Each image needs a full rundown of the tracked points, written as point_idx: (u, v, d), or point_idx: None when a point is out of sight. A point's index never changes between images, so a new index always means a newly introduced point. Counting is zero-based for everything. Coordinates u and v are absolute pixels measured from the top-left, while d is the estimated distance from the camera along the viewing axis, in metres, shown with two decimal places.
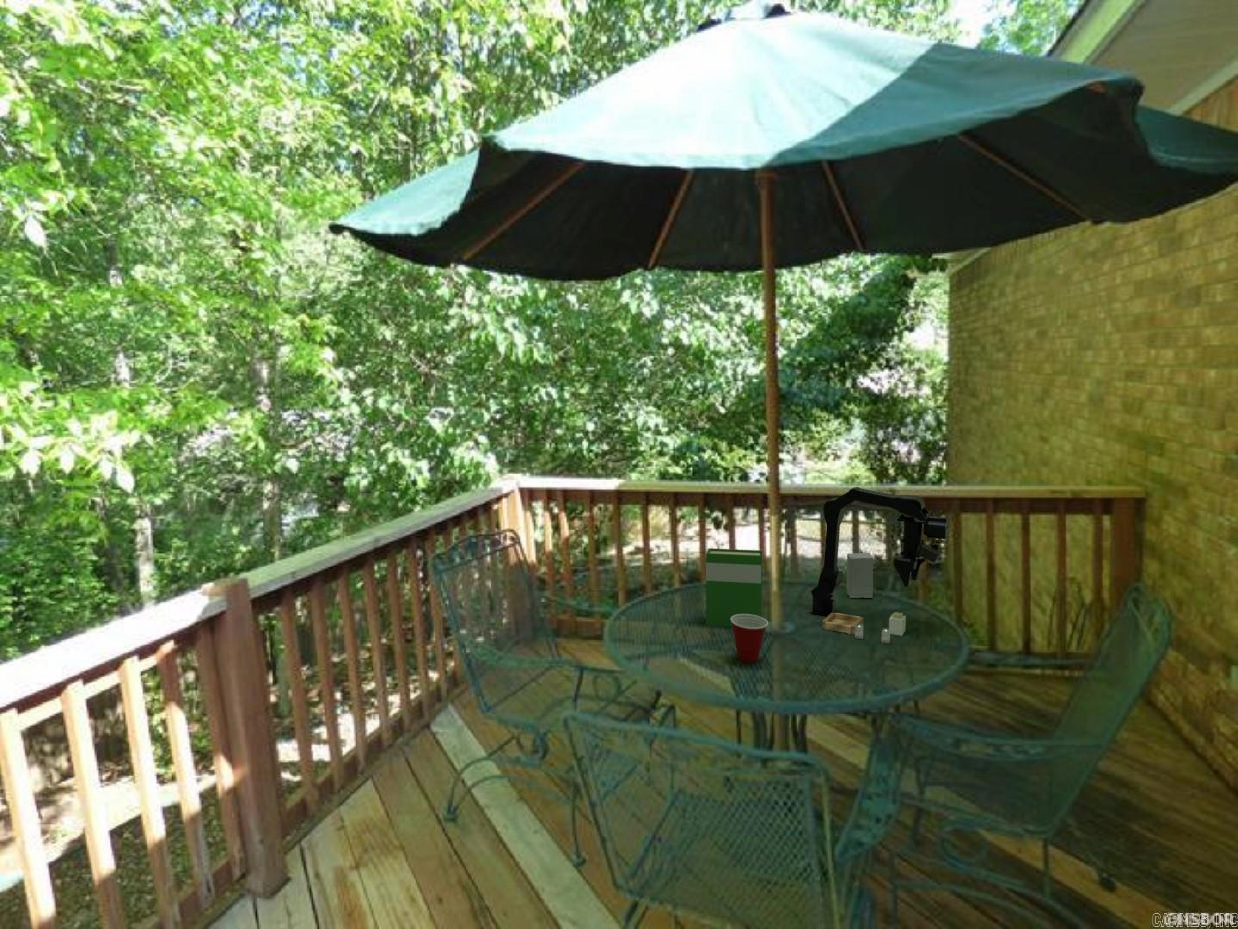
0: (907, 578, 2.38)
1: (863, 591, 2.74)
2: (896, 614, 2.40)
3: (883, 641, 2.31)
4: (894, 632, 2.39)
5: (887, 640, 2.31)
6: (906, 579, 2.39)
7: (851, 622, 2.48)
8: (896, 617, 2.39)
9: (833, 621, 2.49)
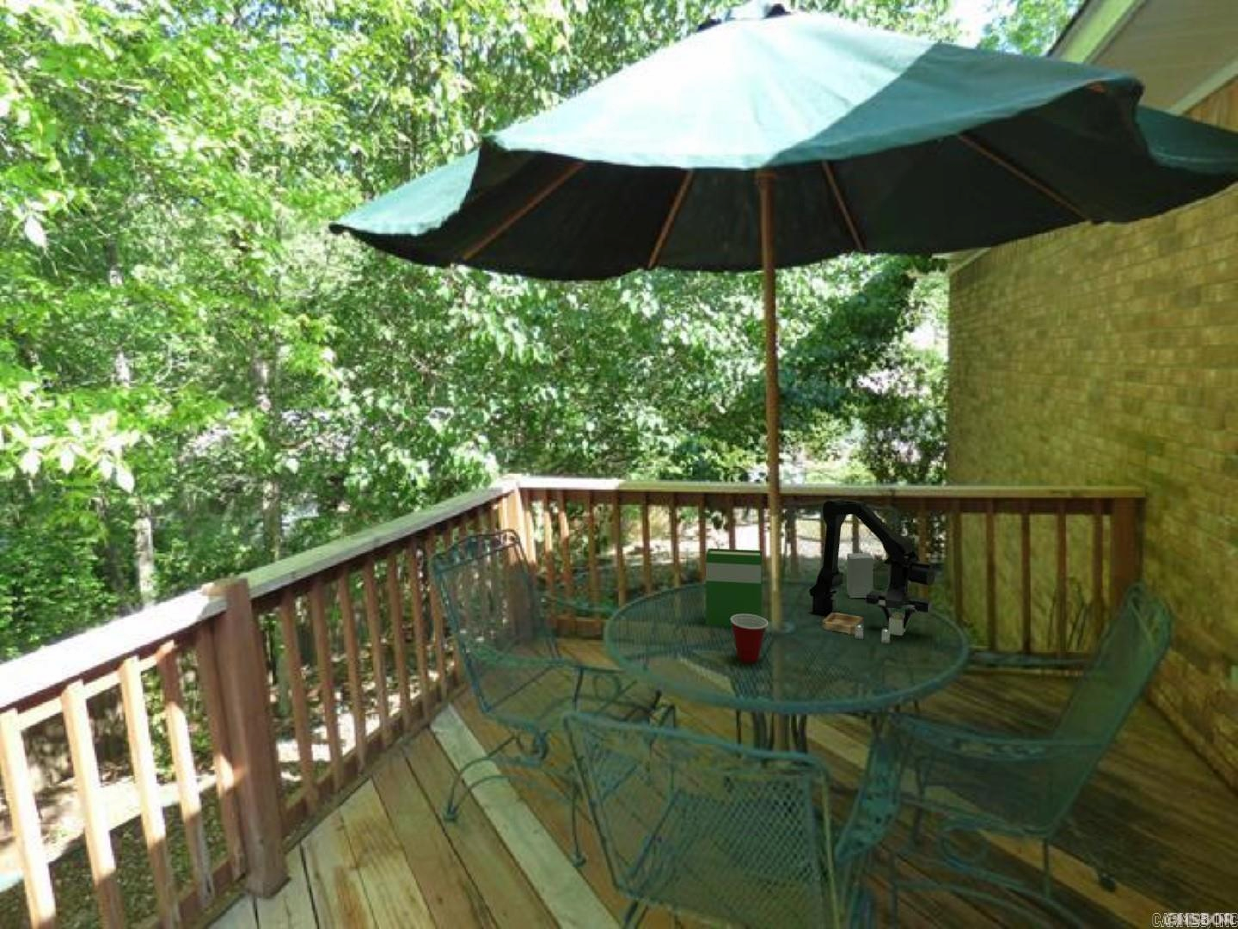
0: None
1: (863, 591, 2.74)
2: (896, 614, 2.40)
3: (883, 641, 2.31)
4: (894, 632, 2.39)
5: (887, 640, 2.31)
6: None
7: (851, 622, 2.48)
8: (896, 617, 2.39)
9: (833, 621, 2.49)
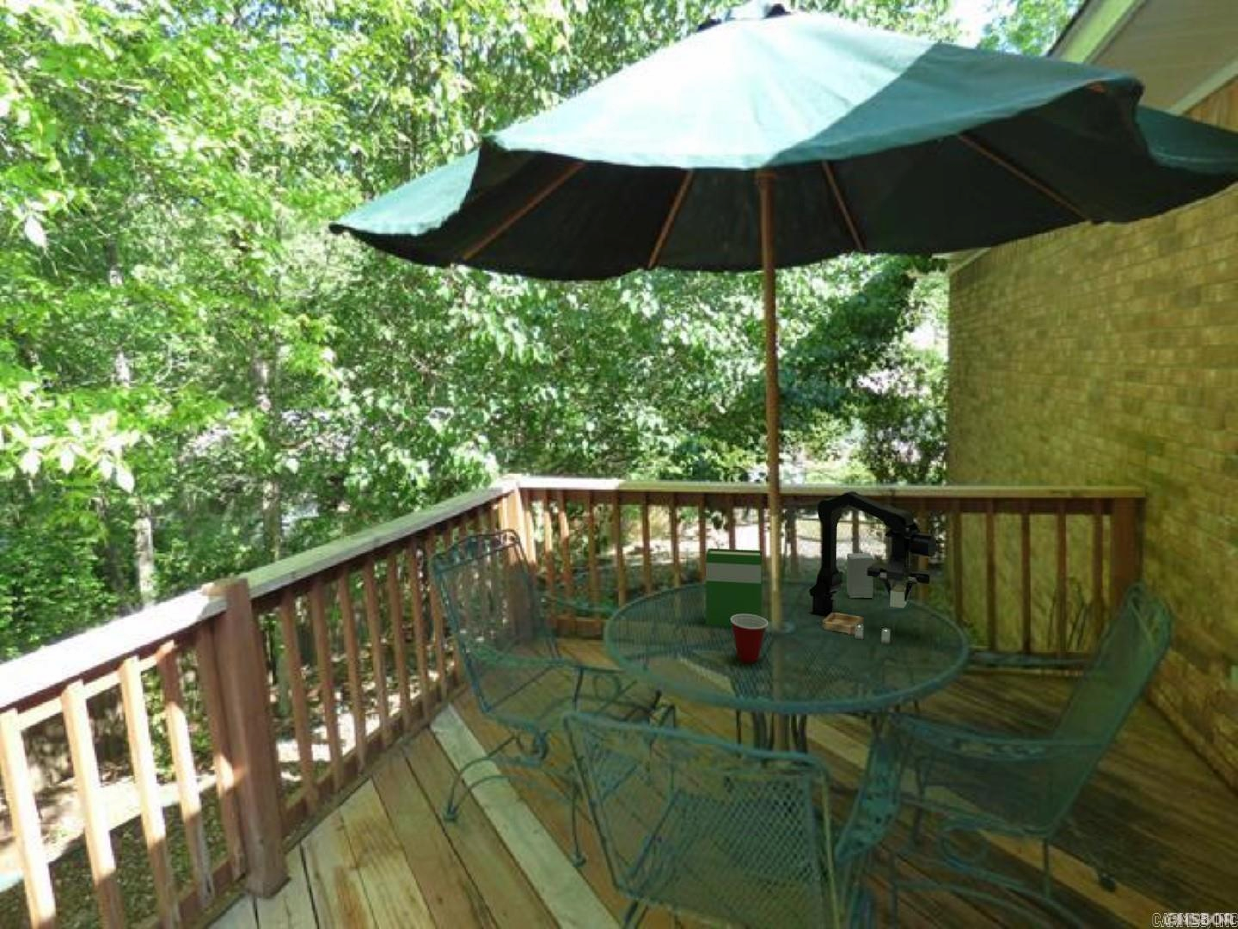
0: None
1: (863, 591, 2.74)
2: (897, 586, 2.39)
3: (883, 641, 2.31)
4: (895, 605, 2.38)
5: (887, 640, 2.31)
6: None
7: (851, 622, 2.48)
8: (897, 589, 2.38)
9: (833, 621, 2.49)
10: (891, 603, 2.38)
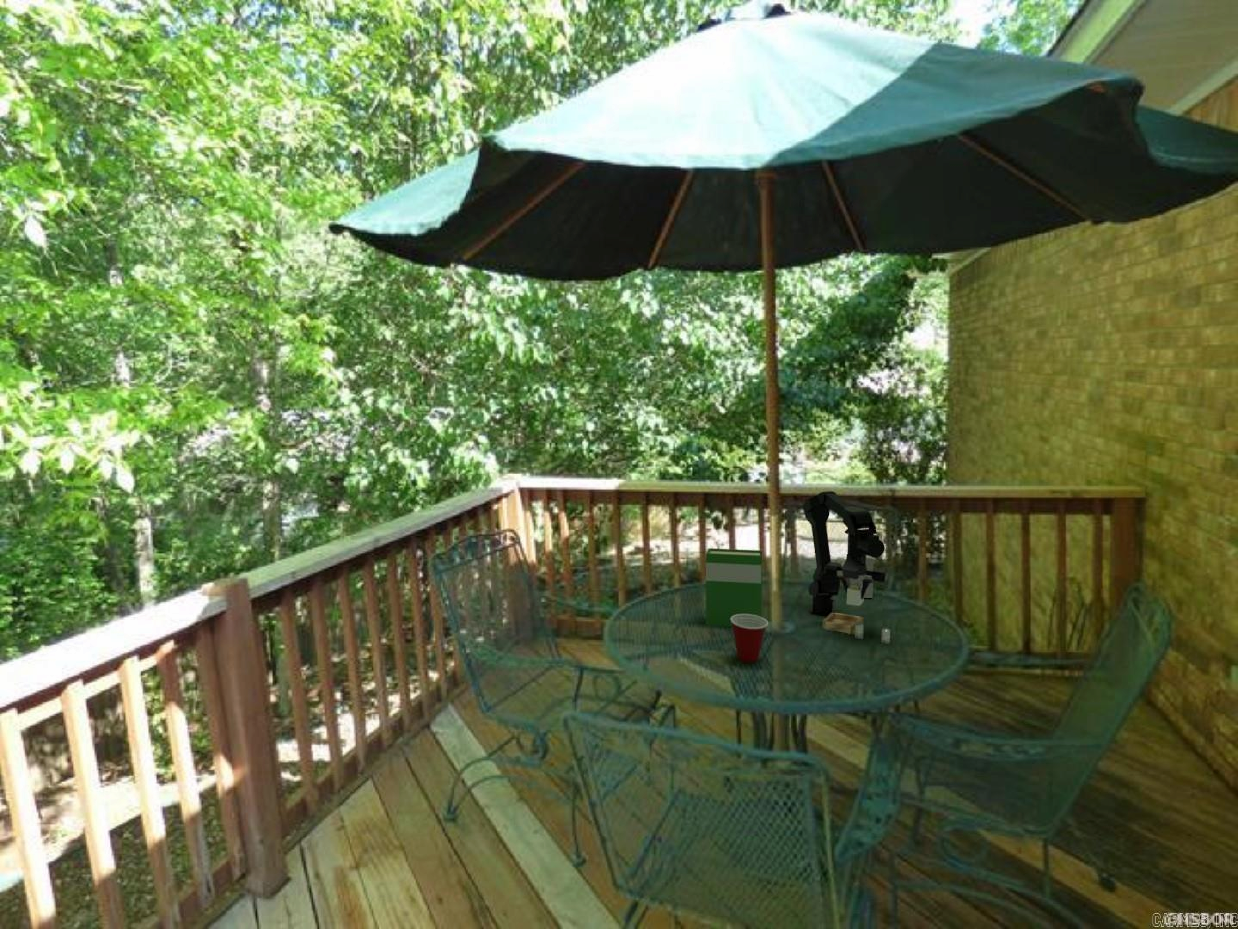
0: None
1: None
2: (854, 584, 2.40)
3: (883, 641, 2.31)
4: (852, 603, 2.39)
5: (887, 640, 2.31)
6: None
7: (851, 622, 2.48)
8: (854, 587, 2.39)
9: (833, 621, 2.49)
10: (848, 601, 2.40)
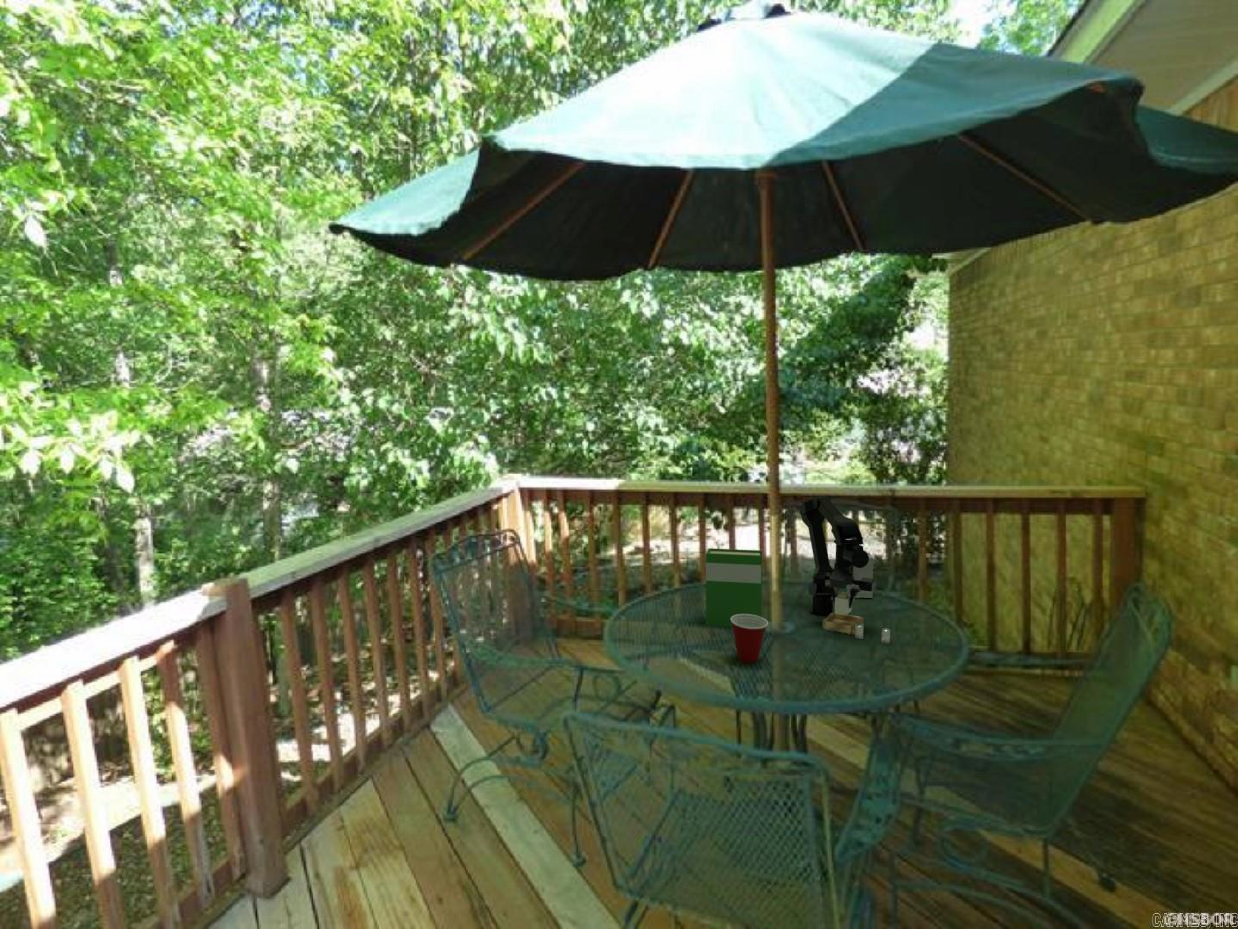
0: None
1: (863, 591, 2.74)
2: (842, 594, 2.44)
3: (883, 641, 2.31)
4: (840, 611, 2.43)
5: (887, 640, 2.31)
6: None
7: (851, 622, 2.48)
8: (842, 596, 2.43)
9: (833, 621, 2.49)
10: (836, 610, 2.44)
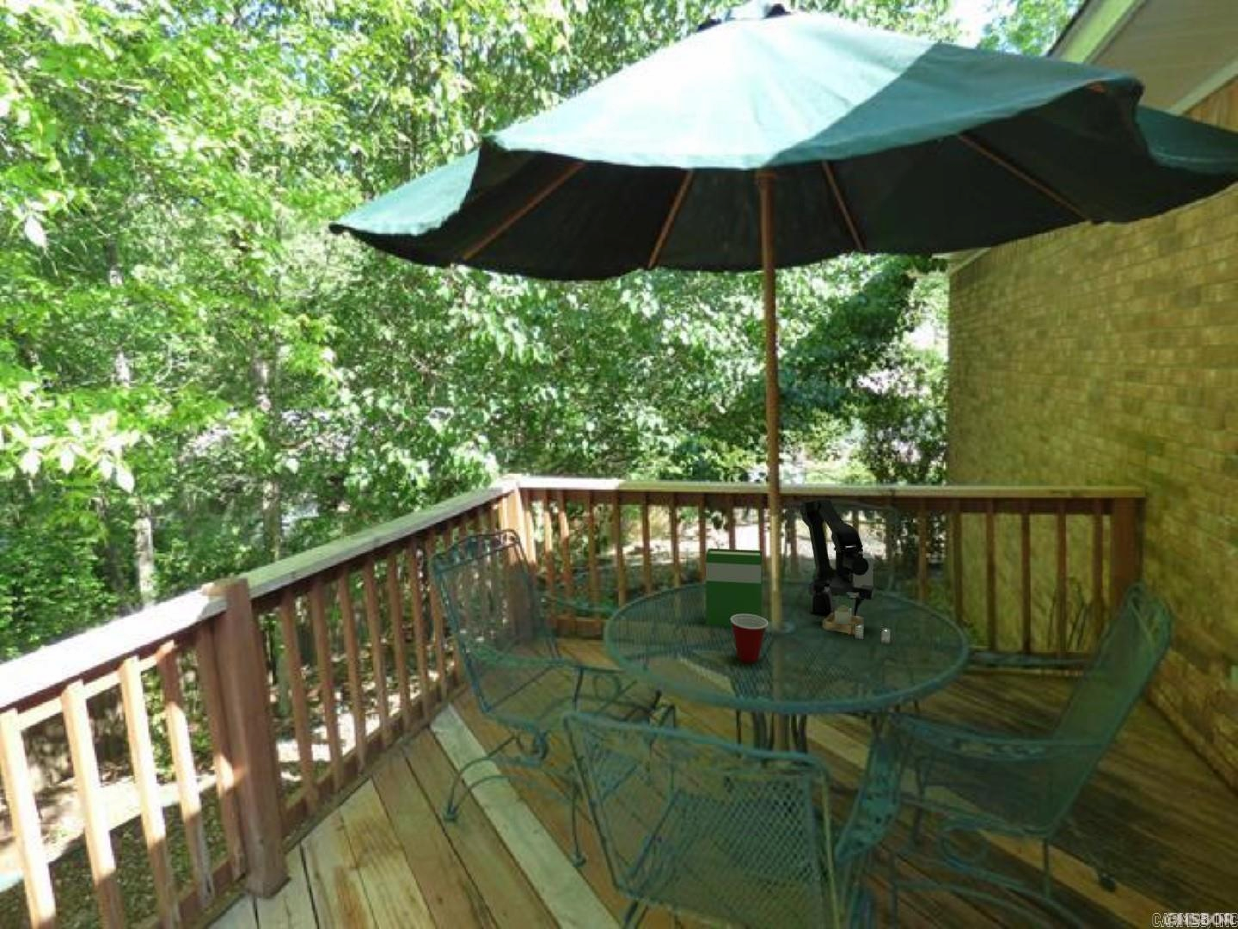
0: None
1: None
2: (842, 607, 2.45)
3: (883, 641, 2.31)
4: None
5: (887, 640, 2.31)
6: None
7: (851, 622, 2.48)
8: (841, 610, 2.44)
9: (833, 621, 2.49)
10: None
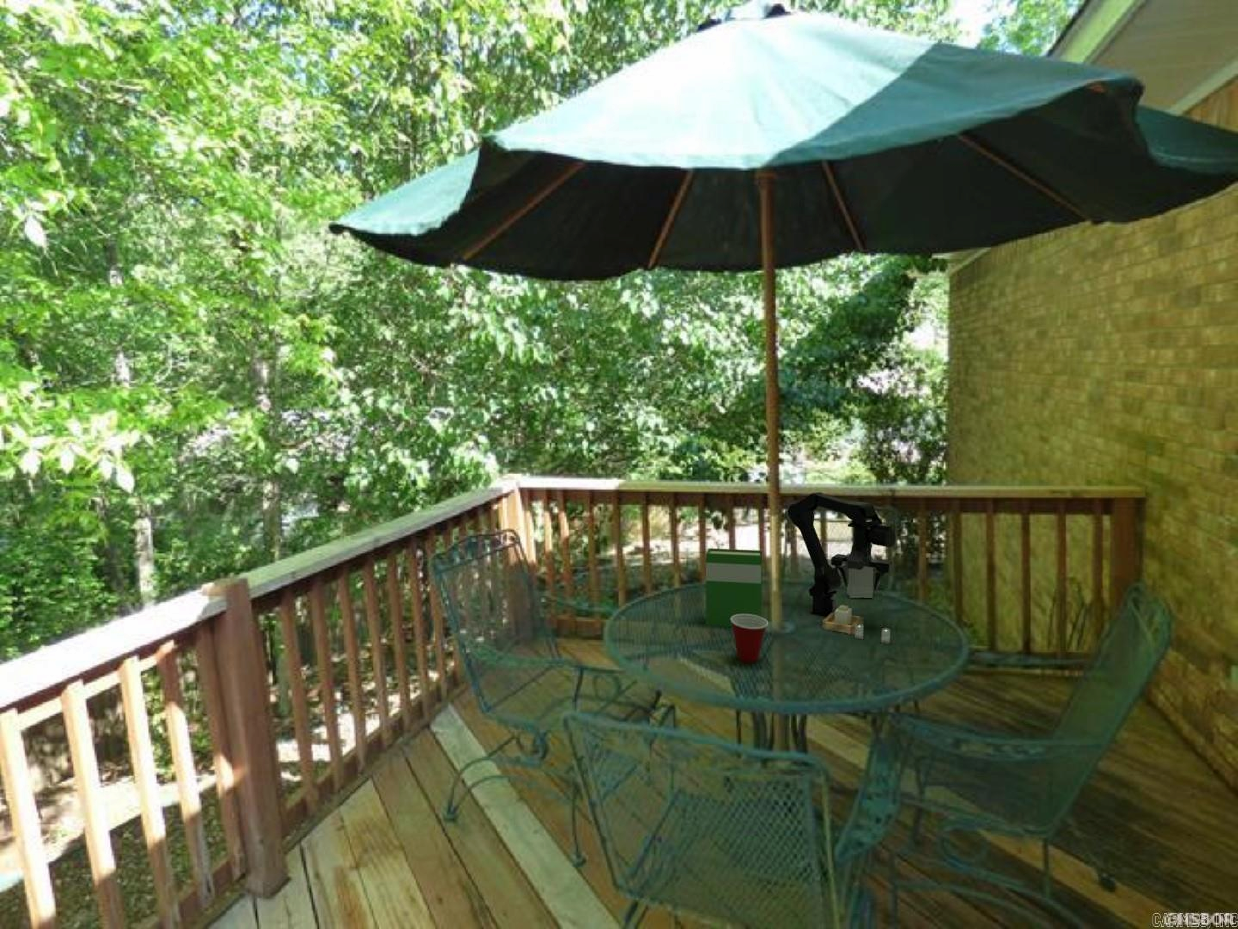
0: None
1: (863, 591, 2.74)
2: (842, 607, 2.45)
3: (883, 641, 2.31)
4: None
5: (887, 640, 2.31)
6: None
7: (851, 622, 2.48)
8: (841, 610, 2.44)
9: (833, 621, 2.49)
10: None
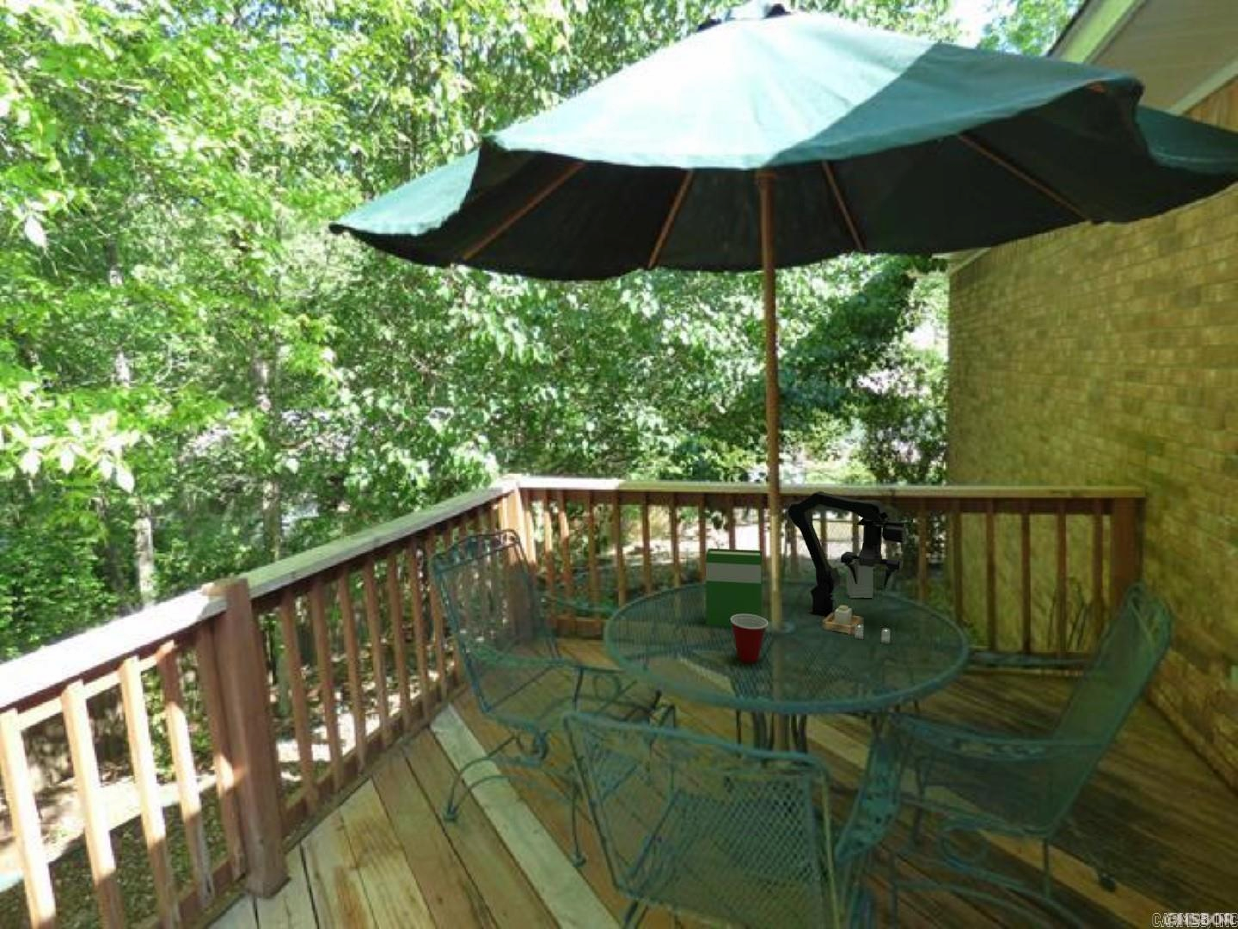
0: None
1: (863, 591, 2.74)
2: (842, 607, 2.45)
3: (883, 641, 2.31)
4: None
5: (887, 640, 2.31)
6: None
7: (851, 622, 2.48)
8: (841, 610, 2.44)
9: (833, 621, 2.49)
10: None
